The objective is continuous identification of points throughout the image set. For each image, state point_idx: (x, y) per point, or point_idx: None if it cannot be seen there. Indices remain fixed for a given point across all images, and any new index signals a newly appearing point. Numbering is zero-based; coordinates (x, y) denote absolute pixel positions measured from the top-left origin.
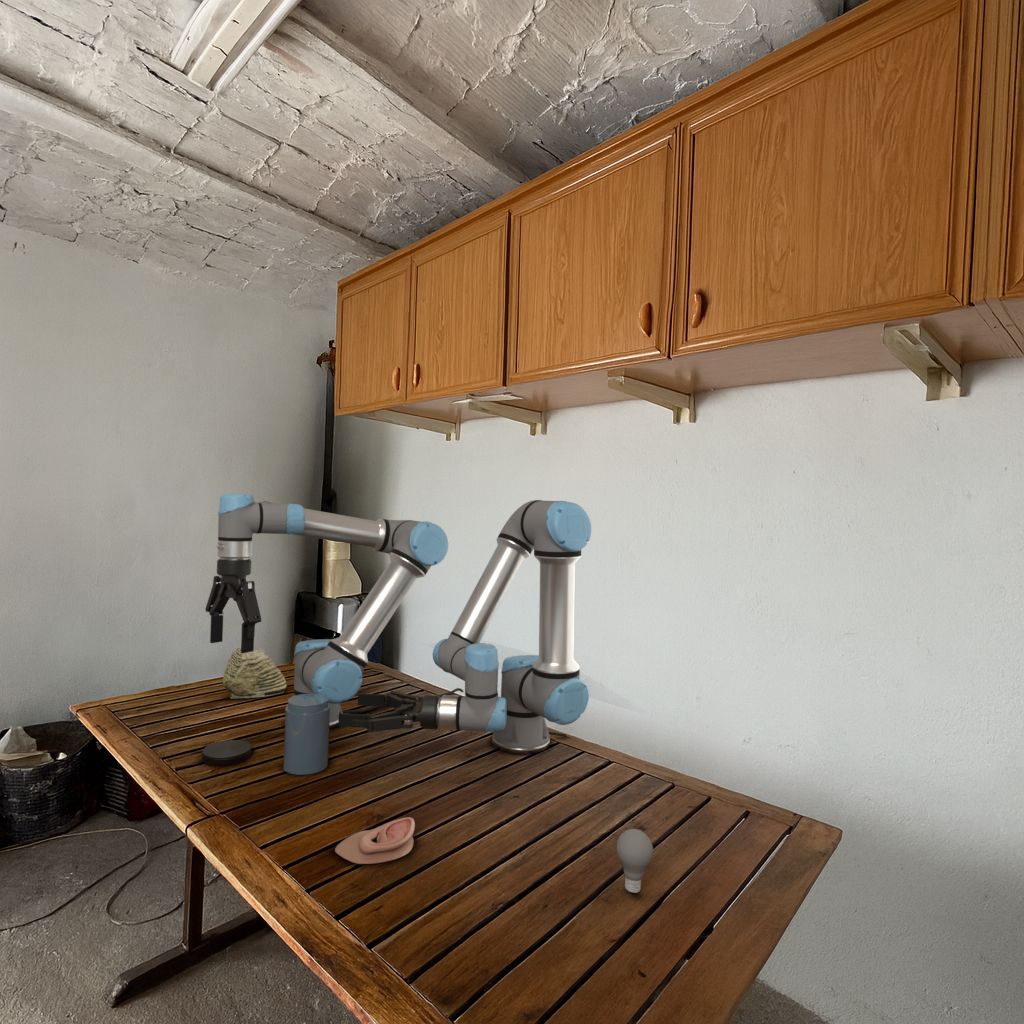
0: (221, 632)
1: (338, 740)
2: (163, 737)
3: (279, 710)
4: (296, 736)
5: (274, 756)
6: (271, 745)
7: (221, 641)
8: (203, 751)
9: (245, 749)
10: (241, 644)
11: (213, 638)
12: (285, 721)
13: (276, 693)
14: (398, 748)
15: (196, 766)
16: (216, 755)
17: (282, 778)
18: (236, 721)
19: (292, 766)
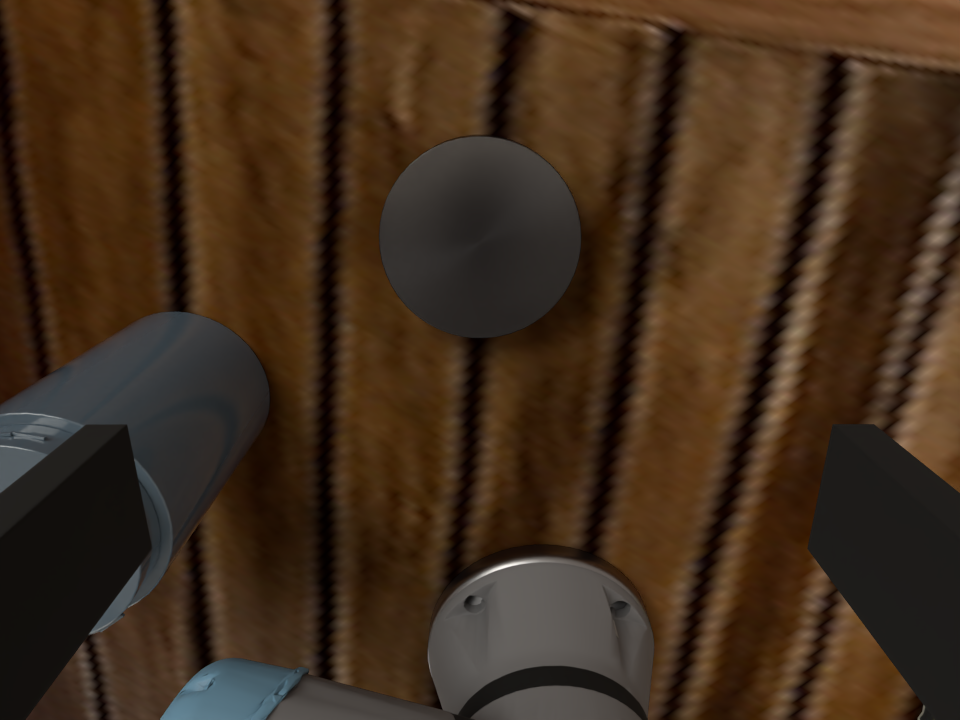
0: (873, 619)
1: (320, 590)
2: (904, 158)
3: (761, 626)
4: (47, 375)
5: (349, 363)
6: (457, 414)
7: (812, 541)
8: (526, 152)
9: (412, 288)
10: (61, 479)
11: (862, 476)
12: (110, 394)
13: (924, 712)
14: (117, 667)
15: (482, 95)
16: (440, 168)
17: (135, 270)
18: (800, 461)
19: (134, 324)
